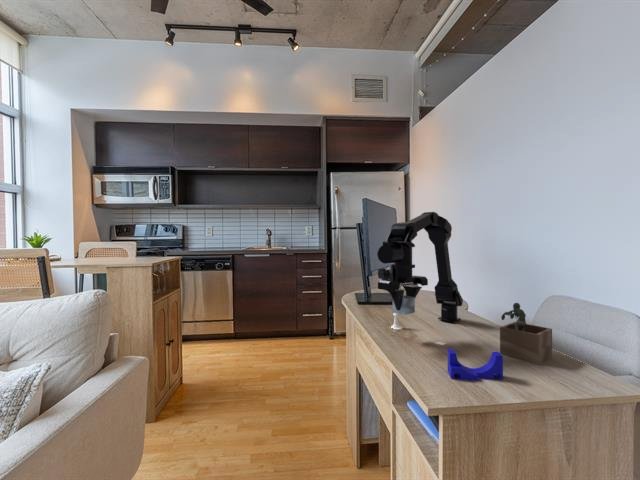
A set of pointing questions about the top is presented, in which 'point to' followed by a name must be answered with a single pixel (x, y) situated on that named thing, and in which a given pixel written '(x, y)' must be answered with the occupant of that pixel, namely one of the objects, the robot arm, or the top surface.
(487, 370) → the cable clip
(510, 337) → the open brown box
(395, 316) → the chess piece
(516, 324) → the zombie figurine
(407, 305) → the blue cube
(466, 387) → the top surface
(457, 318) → the robot arm
